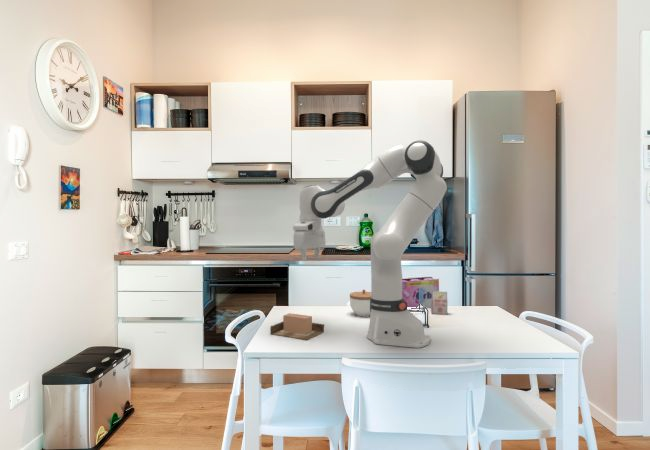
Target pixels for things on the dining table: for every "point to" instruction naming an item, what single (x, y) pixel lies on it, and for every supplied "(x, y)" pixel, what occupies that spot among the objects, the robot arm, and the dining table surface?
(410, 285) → the gum box
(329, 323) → the dining table surface
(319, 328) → the brown wooden flat frame
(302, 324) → the terracotta block
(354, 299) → the lidded bowl
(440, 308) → the small beige carton
